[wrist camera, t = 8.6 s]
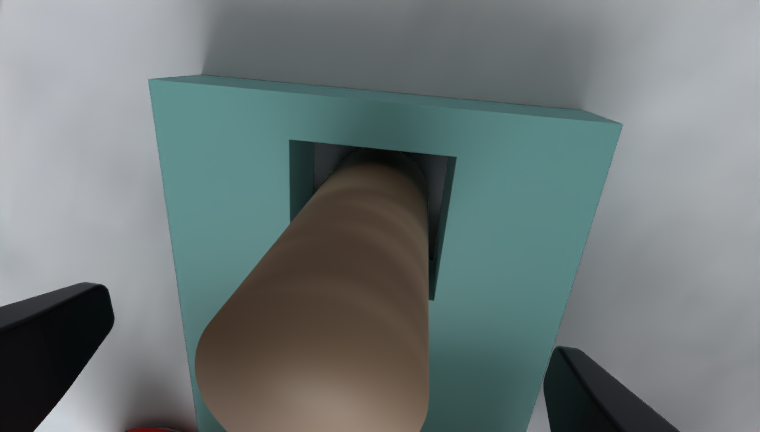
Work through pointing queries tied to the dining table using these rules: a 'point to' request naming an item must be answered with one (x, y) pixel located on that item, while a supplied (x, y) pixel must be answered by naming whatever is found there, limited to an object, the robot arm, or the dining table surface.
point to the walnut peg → (331, 313)
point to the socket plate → (455, 229)
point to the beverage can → (152, 429)
